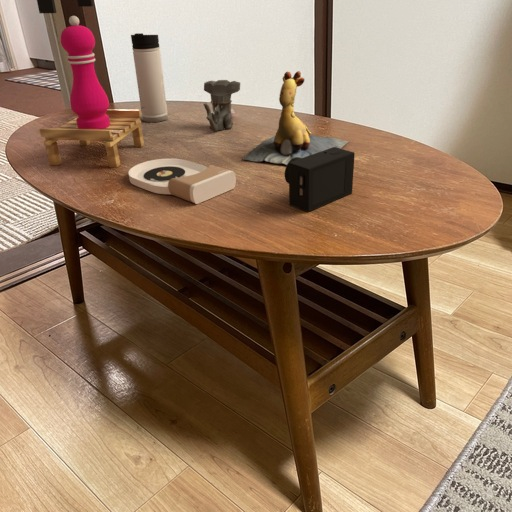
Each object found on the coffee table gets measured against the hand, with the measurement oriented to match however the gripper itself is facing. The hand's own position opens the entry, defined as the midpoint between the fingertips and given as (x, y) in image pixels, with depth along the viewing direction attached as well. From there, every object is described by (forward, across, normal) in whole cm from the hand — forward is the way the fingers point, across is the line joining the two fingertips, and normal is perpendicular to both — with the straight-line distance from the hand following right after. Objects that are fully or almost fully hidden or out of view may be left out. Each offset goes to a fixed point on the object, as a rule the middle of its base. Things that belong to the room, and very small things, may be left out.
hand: (68, 9), depth 92 cm
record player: (+27, -13, -22) cm, 37 cm away
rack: (+27, 0, -1) cm, 27 cm away
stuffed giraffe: (+26, +6, -41) cm, 49 cm away
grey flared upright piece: (+27, +23, -20) cm, 40 cm away
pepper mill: (+21, 0, -1) cm, 21 cm away
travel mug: (+27, +27, -3) cm, 38 cm away
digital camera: (+26, -17, -47) cm, 57 cm away
